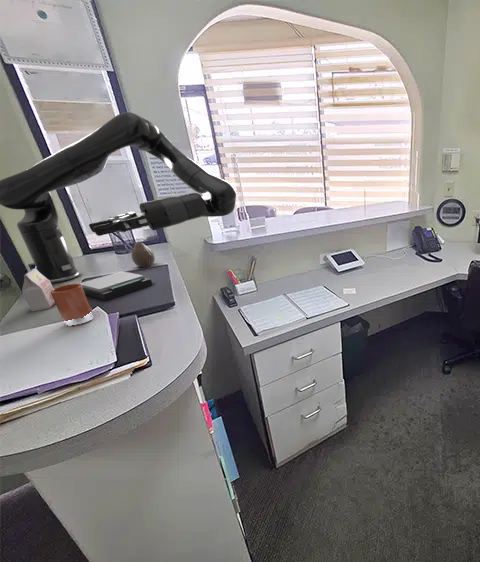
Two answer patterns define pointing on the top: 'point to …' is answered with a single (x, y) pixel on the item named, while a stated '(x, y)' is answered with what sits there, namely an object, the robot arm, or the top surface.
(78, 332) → the top surface
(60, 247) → the robot arm
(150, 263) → the brown coconut
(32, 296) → the milk carton
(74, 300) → the cup
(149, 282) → the scale
